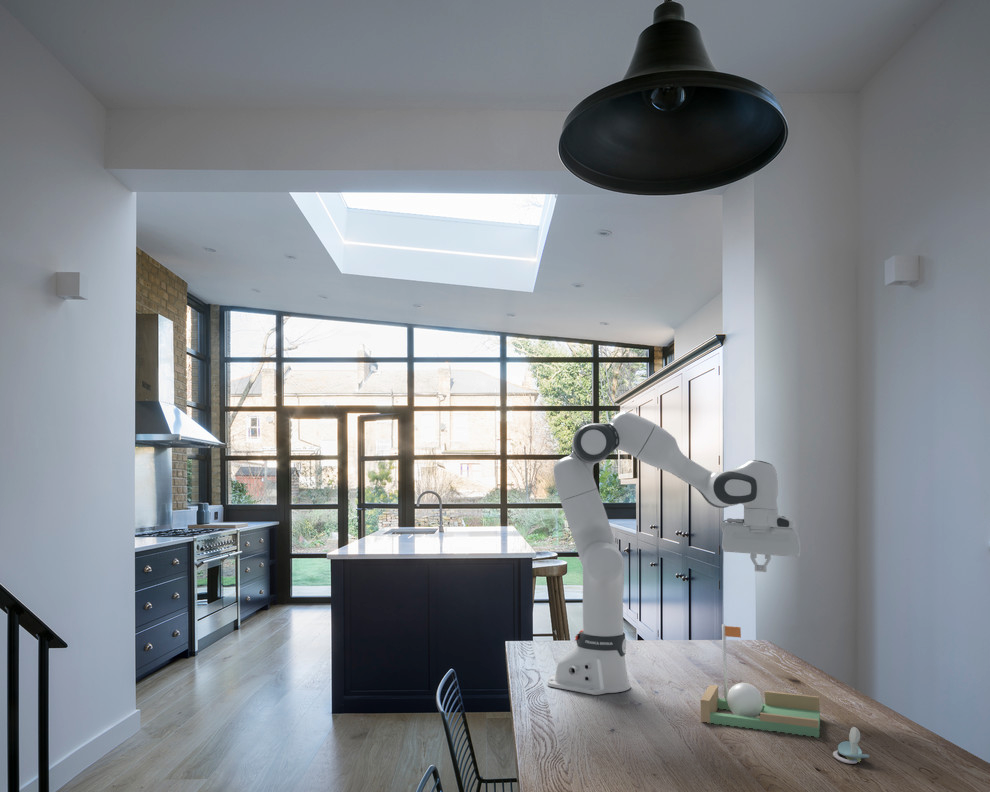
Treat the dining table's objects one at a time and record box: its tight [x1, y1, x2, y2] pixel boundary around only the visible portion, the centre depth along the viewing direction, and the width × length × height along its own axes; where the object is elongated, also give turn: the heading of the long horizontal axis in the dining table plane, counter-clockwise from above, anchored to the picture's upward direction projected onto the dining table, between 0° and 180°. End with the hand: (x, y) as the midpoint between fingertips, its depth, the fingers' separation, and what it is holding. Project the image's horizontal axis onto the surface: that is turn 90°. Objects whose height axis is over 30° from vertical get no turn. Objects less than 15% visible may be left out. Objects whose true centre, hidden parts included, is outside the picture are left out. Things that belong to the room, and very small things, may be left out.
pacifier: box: [832, 726, 870, 765], centre depth 147 cm, size 7×6×6 cm
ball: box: [727, 682, 764, 718], centre depth 173 cm, size 8×8×8 cm
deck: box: [700, 624, 821, 738], centre depth 172 cm, size 25×14×20 cm, turn 65°
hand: (760, 571), depth 199 cm, fingers closed
